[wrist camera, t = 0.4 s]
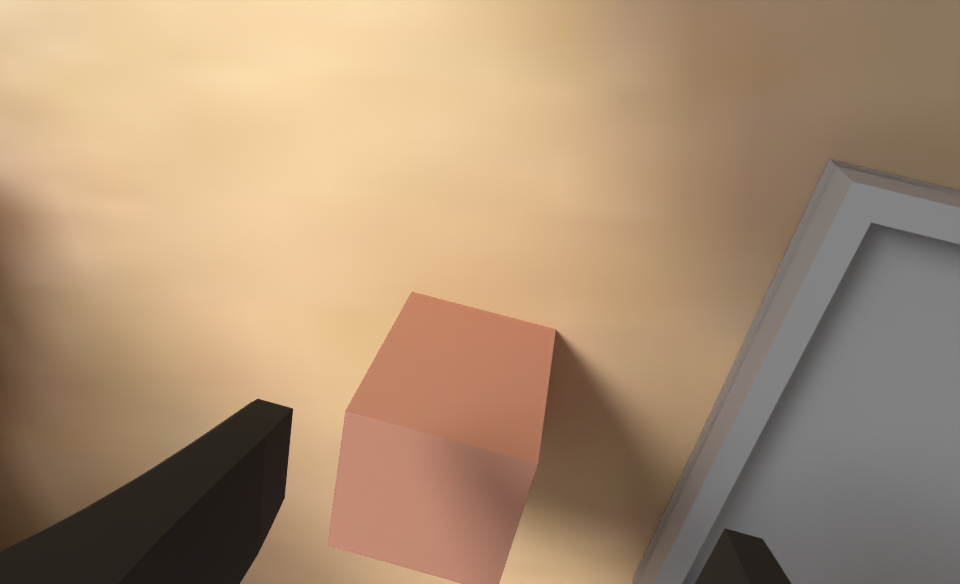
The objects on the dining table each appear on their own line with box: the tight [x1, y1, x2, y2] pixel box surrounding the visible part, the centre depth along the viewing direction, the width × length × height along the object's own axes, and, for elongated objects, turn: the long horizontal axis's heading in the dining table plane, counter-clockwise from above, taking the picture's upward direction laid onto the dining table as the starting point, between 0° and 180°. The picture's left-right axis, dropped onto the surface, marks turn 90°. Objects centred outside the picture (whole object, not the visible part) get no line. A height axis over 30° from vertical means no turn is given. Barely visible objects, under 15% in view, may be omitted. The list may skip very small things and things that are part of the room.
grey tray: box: [633, 159, 960, 584], centre depth 20 cm, size 16×13×2 cm
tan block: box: [328, 292, 556, 584], centre depth 19 cm, size 4×4×6 cm
